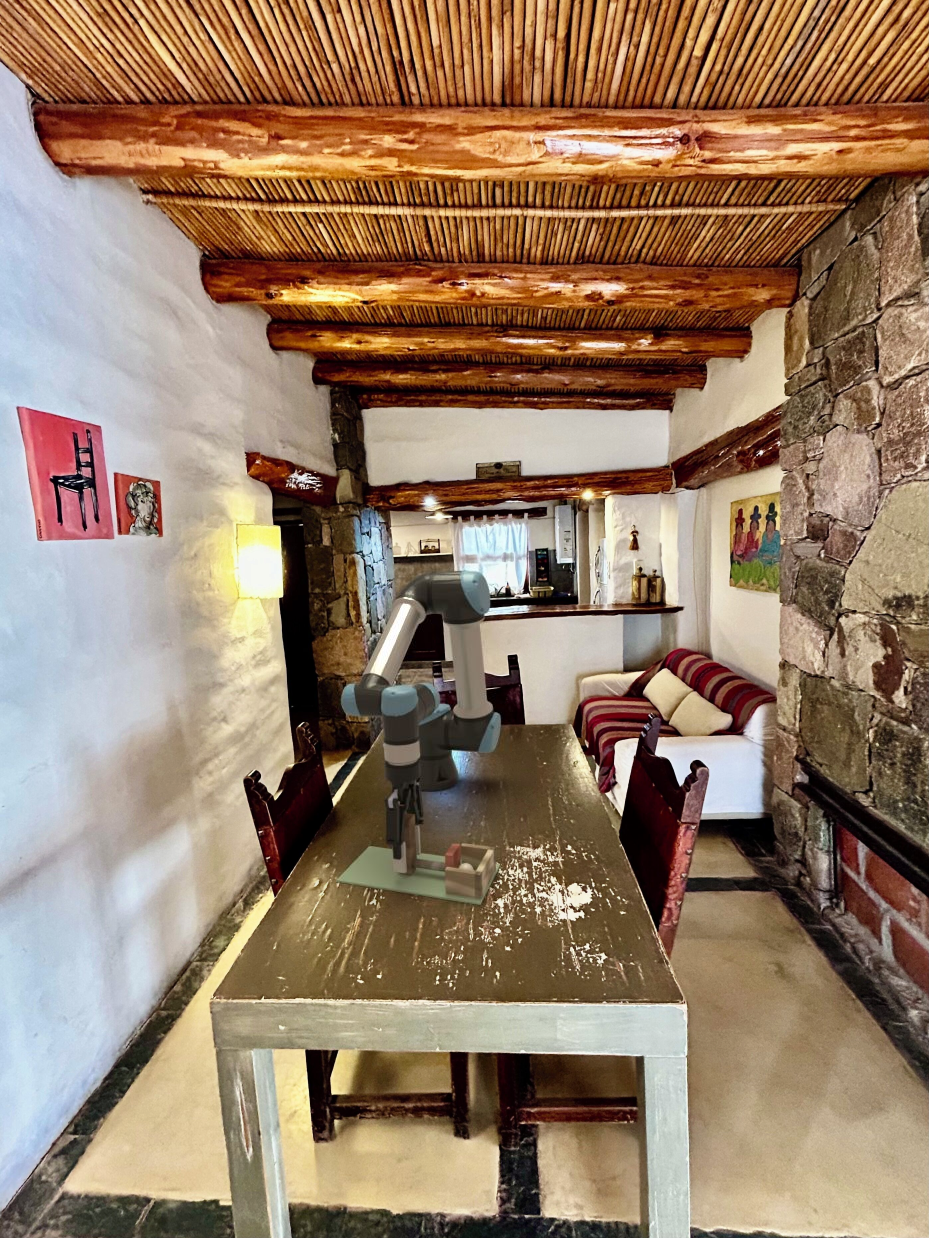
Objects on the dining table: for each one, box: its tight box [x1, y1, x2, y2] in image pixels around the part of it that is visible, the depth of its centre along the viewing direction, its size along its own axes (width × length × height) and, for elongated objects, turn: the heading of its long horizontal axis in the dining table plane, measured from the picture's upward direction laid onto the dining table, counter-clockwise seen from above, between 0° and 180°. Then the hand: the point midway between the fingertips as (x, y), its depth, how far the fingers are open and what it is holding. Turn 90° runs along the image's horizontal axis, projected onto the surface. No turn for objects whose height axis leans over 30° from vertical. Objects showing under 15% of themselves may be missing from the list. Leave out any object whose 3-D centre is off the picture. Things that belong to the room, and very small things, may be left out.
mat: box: [336, 845, 501, 906], centre depth 126 cm, size 15×32×1 cm, turn 72°
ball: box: [459, 863, 474, 871], centre depth 122 cm, size 4×4×4 cm
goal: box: [445, 842, 497, 899], centre depth 122 cm, size 11×7×5 cm, turn 162°
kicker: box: [398, 813, 461, 874], centre depth 124 cm, size 5×13×12 cm, turn 72°
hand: (407, 862), depth 126 cm, fingers open, 7 cm apart
